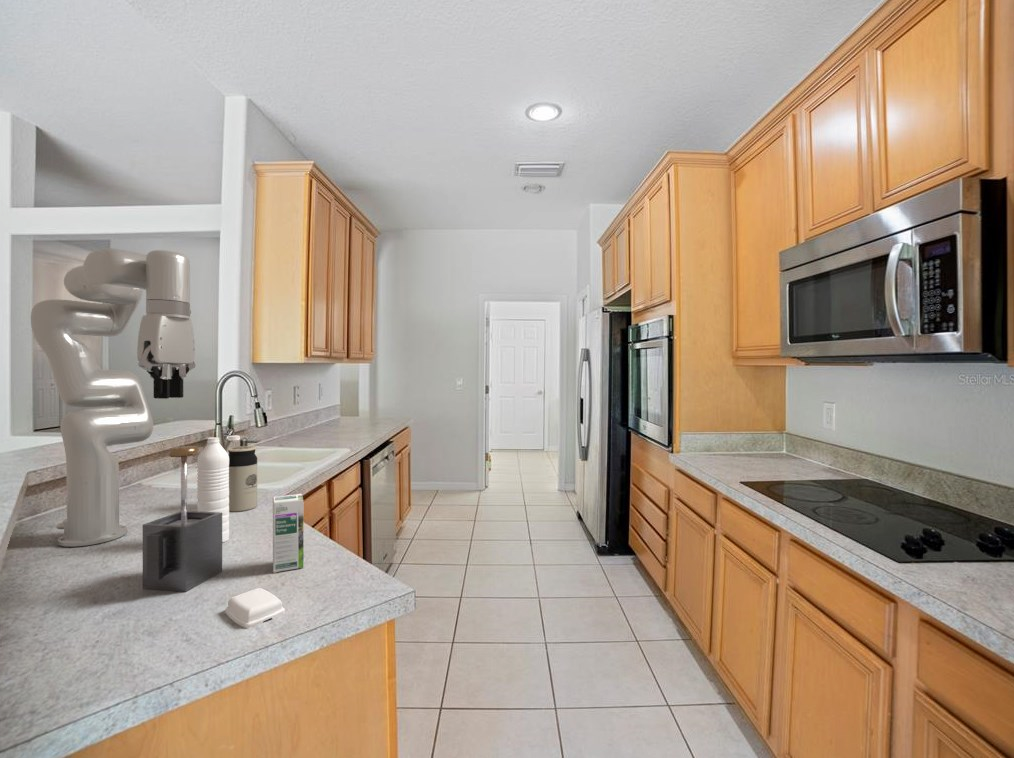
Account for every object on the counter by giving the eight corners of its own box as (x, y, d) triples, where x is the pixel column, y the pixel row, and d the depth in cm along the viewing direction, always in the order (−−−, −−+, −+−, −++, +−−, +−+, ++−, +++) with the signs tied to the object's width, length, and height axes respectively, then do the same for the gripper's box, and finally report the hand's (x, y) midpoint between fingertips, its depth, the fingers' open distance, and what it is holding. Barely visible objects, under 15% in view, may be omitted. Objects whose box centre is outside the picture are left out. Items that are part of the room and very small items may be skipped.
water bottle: (197, 548, 106) (197, 439, 106) (197, 539, 112) (197, 436, 111) (240, 541, 111) (240, 437, 111) (238, 533, 116) (238, 434, 116)
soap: (288, 614, 78) (288, 597, 78) (245, 632, 73) (245, 614, 73) (263, 598, 84) (263, 582, 84) (222, 614, 78) (222, 597, 78)
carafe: (130, 594, 84) (130, 528, 84) (182, 568, 95) (182, 510, 95) (175, 598, 83) (174, 531, 83) (222, 571, 94) (222, 512, 94)
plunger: (154, 532, 87) (154, 450, 87) (182, 521, 94) (182, 444, 94) (185, 534, 87) (185, 451, 86) (211, 523, 93) (211, 445, 93)
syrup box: (272, 573, 93) (272, 502, 93) (272, 563, 98) (272, 495, 98) (303, 568, 96) (303, 498, 96) (301, 558, 101) (301, 492, 101)
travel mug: (221, 509, 136) (221, 448, 136) (248, 503, 143) (248, 445, 143) (235, 513, 132) (235, 451, 132) (262, 507, 139) (262, 447, 139)
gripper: (184, 316, 106) (184, 396, 107) (115, 305, 90) (116, 399, 90) (213, 315, 105) (213, 396, 106) (149, 305, 89) (150, 400, 90)
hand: (168, 397), depth 98 cm, fingers open, 2 cm apart
